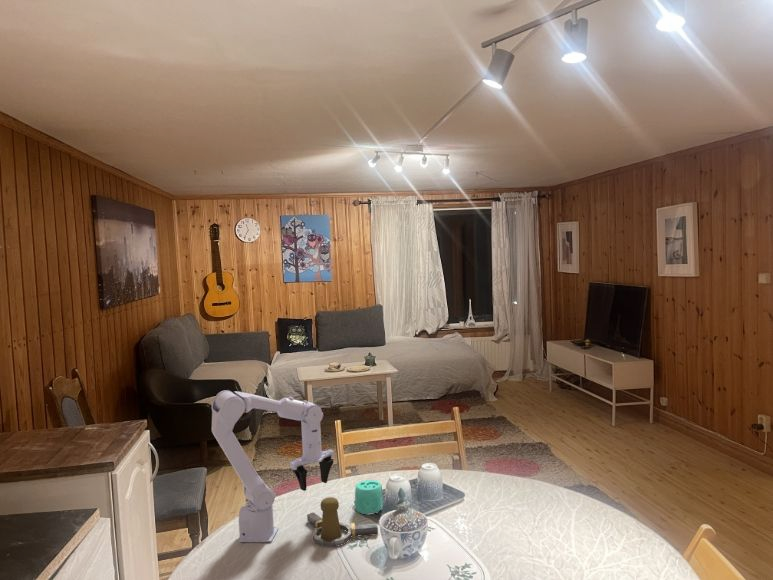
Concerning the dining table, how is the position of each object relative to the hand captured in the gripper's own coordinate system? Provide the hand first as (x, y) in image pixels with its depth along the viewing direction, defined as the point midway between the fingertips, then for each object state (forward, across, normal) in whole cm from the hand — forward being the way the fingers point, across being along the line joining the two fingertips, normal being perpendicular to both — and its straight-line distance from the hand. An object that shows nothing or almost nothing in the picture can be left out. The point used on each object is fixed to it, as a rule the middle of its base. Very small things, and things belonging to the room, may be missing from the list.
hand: (314, 485), depth 172 cm
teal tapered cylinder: (+11, +16, -7) cm, 20 cm away
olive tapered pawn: (+11, -3, -12) cm, 16 cm away
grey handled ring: (+10, 0, -12) cm, 16 cm away
